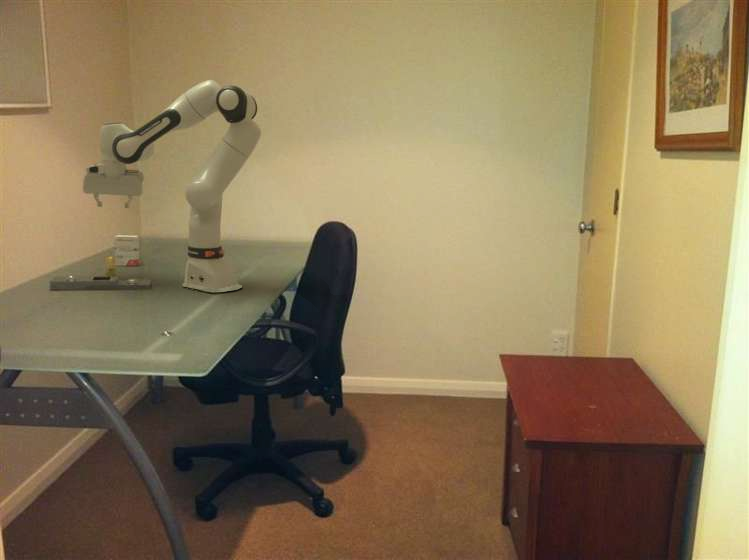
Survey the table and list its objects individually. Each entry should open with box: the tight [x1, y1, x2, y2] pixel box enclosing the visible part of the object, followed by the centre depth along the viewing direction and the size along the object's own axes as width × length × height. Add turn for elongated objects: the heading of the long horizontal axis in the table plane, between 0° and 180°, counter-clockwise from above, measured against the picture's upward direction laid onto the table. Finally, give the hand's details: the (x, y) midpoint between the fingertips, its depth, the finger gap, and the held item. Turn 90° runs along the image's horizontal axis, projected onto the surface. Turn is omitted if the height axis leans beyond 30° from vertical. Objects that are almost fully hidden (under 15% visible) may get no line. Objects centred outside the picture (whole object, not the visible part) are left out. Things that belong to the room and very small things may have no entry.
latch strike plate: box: [49, 274, 152, 291], centre depth 243 cm, size 32×8×4 cm, turn 105°
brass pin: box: [105, 255, 118, 276], centre depth 255 cm, size 4×4×8 cm
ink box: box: [113, 234, 140, 267], centre depth 279 cm, size 9×5×12 cm, turn 96°
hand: (113, 207), depth 252 cm, fingers open, 8 cm apart
